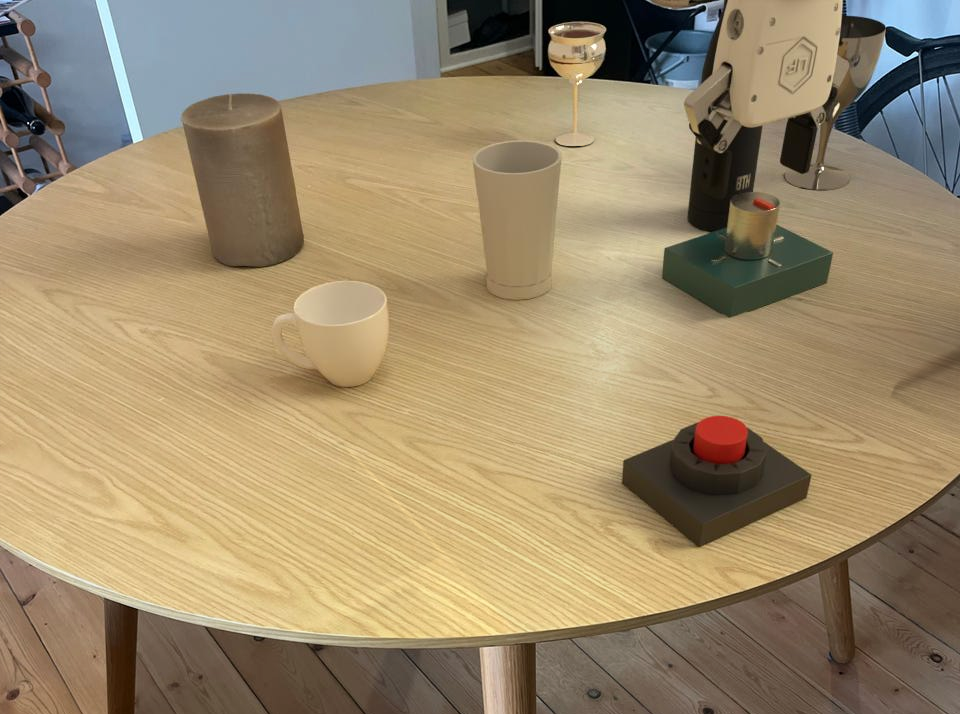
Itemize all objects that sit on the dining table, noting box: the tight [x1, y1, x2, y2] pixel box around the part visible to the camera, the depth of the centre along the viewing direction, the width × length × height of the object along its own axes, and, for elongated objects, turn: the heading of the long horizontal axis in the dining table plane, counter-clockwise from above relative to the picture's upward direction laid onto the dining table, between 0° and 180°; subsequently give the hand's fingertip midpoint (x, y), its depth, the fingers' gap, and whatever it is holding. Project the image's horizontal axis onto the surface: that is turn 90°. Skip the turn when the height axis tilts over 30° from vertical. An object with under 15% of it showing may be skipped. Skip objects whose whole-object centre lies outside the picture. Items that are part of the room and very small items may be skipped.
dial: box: [724, 191, 781, 260], centre depth 94 cm, size 4×4×5 cm
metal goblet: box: [784, 15, 887, 191], centre depth 109 cm, size 8×8×15 cm
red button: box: [693, 415, 748, 464], centre depth 72 cm, size 4×4×2 cm
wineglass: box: [547, 21, 607, 144], centre depth 121 cm, size 7×7×12 cm
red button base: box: [621, 421, 813, 548], centre depth 74 cm, size 10×9×4 cm
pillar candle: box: [180, 92, 305, 268], centre depth 102 cm, size 10×10×15 cm
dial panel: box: [661, 223, 834, 319], centre depth 97 cm, size 12×10×3 cm
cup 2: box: [472, 139, 563, 301], centre depth 95 cm, size 8×8×12 cm
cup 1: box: [271, 280, 390, 388], centre depth 87 cm, size 8×10×7 cm
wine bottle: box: [686, 0, 764, 232], centre depth 97 cm, size 6×6×30 cm
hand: (753, 180), depth 92 cm, fingers open, 9 cm apart
